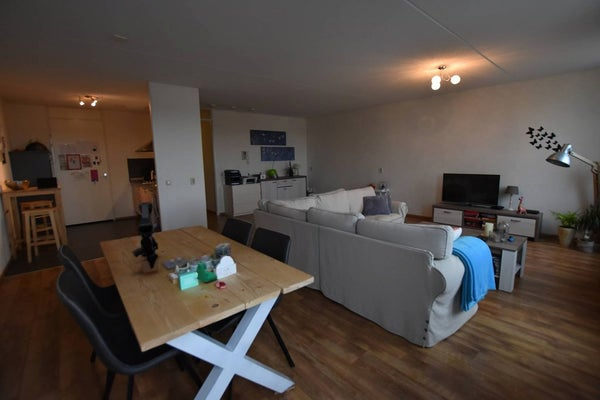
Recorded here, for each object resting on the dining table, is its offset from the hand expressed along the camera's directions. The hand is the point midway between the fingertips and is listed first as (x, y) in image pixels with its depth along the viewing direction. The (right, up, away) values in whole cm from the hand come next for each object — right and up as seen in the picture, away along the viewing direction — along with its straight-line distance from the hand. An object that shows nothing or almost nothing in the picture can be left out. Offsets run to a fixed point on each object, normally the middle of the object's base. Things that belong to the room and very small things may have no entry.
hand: (149, 266), depth 178 cm
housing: (0, -2, 0) cm, 2 cm away
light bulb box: (+43, +1, +13) cm, 45 cm away
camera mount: (+41, -4, -15) cm, 43 cm away
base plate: (+13, -1, +9) cm, 15 cm away
